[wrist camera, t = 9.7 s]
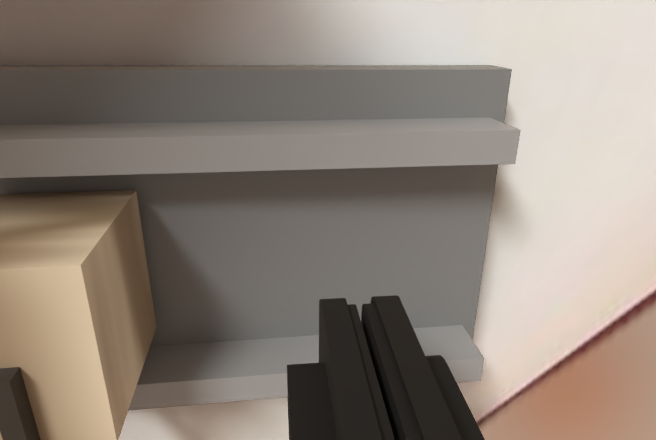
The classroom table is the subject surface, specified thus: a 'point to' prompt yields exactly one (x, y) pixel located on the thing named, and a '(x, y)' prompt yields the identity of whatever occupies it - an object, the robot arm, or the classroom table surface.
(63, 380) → the gauge slider
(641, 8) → the classroom table surface
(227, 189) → the gauge base
